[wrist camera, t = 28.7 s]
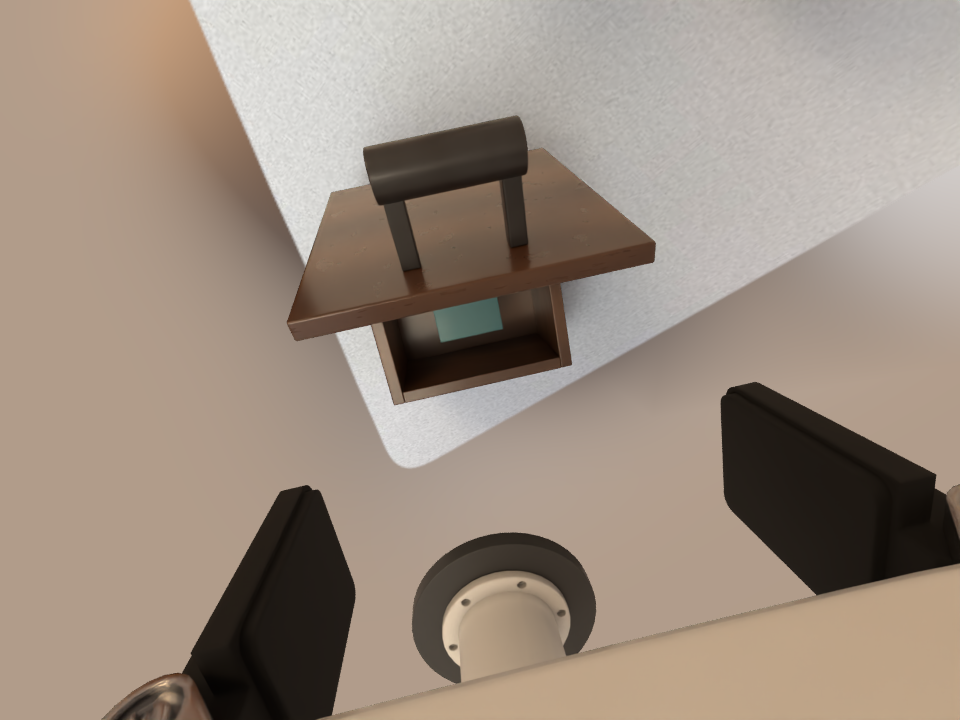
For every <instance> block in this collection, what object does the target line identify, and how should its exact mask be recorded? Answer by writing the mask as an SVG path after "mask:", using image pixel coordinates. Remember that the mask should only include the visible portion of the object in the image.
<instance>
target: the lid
mask: <svg viewBox="0 0 960 720" xmlns="http://www.w3.org/2000/svg"><path fill="white" fill-rule="evenodd" d="M363 155H364V161H365V166H366V170H367V174H368V178H369V182H370V184H369V185H364V186H359V187H354V188H350V189H345V190H340V191H336V192H332V193H331V195H330V197H329V200H328V203H327V206H326V209H325V212H324V215H323V218H322V221H321V224H320V227H319V230H318V233H317V236H316V238H315V241H314V244H313V247H312V250H311V253H310V256H309V259H308V262H307V265H306V268H305V271H304V274H303V277H302V280H301V282H300V285H299V288H298V291H297V294H296V297H295V300H294V303H293V306H292V309H291V312H290V315H289V318H288V320H287V325H288V327H289V329H290V331H291V333H292V335H293V337H294V339H295V340H296V341H300V340H304V339H308V338H314V337H318V336H323V335H327V334H332V333H336V332H341V331H345V330H350V329H354V328H359V327H363V326H368V325H372V324H377V323H382V322H386V321H391V320H395V319H400V318H404V317H409V316H413V315H418V314H422V313H427V312H431V311H436V310H440V309H445V308H449V307H454V306H459V305H463V304H468V303H472V302H477V301H481V300H486V299H490V298H495V297H499V296H504V295H508V294H513V293H517V292H522V291H526V290H531V289H536V288H540V287H545V286H549V285H554V284H558V283H563V282H567V281H572V280H576V279H581V278H585V277H590V276H594V275H599V274H604V273H608V272H613V271H617V270H622V269H626V268H631V267H635V266H640V265H644V264H649V263H653V262H654V260H655V247H656V243H655V241H654V240H653V239H652V238H650V237H649V236H648V235H647V234H646V233H644V232H643V231H642V230H641V229H640V228H638V227H637V226H636V225H635V224H634V223H632V222H631V221H630V220H629V219H628V218H626V217H625V216H624V215H623V214H622V213H620V212H619V211H618V210H617V209H616V208H614V207H613V206H612V205H611V204H610V203H608V202H607V201H606V200H605V199H604V198H602V197H601V196H600V195H599V194H598V193H596V192H595V191H594V190H593V189H592V188H590V187H589V186H588V185H587V184H586V183H584V182H583V181H582V180H581V179H580V178H578V177H577V176H576V175H575V174H574V173H572V172H571V171H570V170H569V169H568V168H566V167H565V166H564V165H563V164H562V163H560V162H559V161H558V160H557V159H556V158H554V157H553V156H552V155H551V154H550V153H548V152H547V151H546V150H545V149H544V148H539V149H534V150H529V151H528V148H527V141H526V135H525V131H524V127H523V124H522V121H521V119H520V117H519V116H517V115H516V116H511V117H506V118H502V119H497V120H492V121H487V122H482V123H478V124H473V125H468V126H463V127H458V128H454V129H449V130H444V131H439V132H435V133H430V134H425V135H420V136H415V137H411V138H406V139H401V140H396V141H391V142H387V143H382V144H377V145H372V146H368V147H364V148H363Z"/></svg>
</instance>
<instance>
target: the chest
mask: <svg viewBox="0 0 960 720" xmlns="http://www.w3.org/2000/svg"><path fill="white" fill-rule="evenodd" d="M497 299H498V304H499V309H500V315H501V320H502V325H503V329H501V330H496V331H492V332H487V333H483V334H478V335H474V336H469V337H465V338H460V339H456V340H451V341H447V342H443V343H441V342H440V338H439V333H438V329H437V325H436V321H435V317H434V313H433V311H431V312H427V313H422V314H418V315H413V316H409V317H404V318H400V319H395V320H391V321H386V322H382V323H377V324H372V325H371V327H372V330H373V334H374V337H375V341H376V344H377V348H378V351H379V355H380V358H381V362H382V365H383V369H384V372H385V376H386V379H387V383H388V386H389V389H390V393H391V396H392V400H393V403H394V405H398V404H402V403H405V402H406V403H407V402H412V401H416V400H421V399H425V398H429V397H434V396H438V395H443V394H447V393H451V392H456V391H460V390H465V389H469V388H474V387H478V386H482V385H487V384H491V383H496V382H500V381H505V380H509V379H513V378H518V377H522V376H527V375H531V374H535V373H540V372H544V371H549V370H553V369H558V368H561V367H566V366H570V365H572V360H571V353H570V346H569V339H568V333H567V326H566V319H565V312H564V305H563V299H562V292H561V285H560V283H558V284H554V285H549V286H545V287H540V288H536V289H531V290H526V291H522V292H517V293H513V294H508V295H504V296H499V297H497Z"/></svg>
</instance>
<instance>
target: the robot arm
mask: <svg viewBox="0 0 960 720" xmlns="http://www.w3.org/2000/svg"><path fill="white" fill-rule="evenodd" d="M721 426H722V452H723V478H724V496H725V500H726V502H727V505H728V506H729V508H730V509H731V510H732V512H733V513H734V514H735V515H736V516H737V517H738V518H739V519H741V521H743V522H744V523H745V524H746V525H747V526H748V527H749V528H750V529H751V530H752V531H753V532H754V533H755V534H756V535H757V536H758V537H759V538H760V539H761V540H762V541H763V542H764V543H765V544H766V545H767V546H768V547H769V548H770V549H771V550H772V551H773V552H774V553H775V554H776V555H777V556H778V557H779V558H780V559H781V560H782V561H783V562H784V563H785V564H786V565H787V566H788V567H789V568H790V569H791V570H792V571H793V572H794V573H795V574H796V575H797V576H798V577H799V578H800V579H801V580H802V581H803V582H804V583H805V584H806V585H807V586H808V587H809V588H810V589H811V590H812V591H813V592H814V593H815V594H816V596H812V597H808V598H804V599H800V600H796V601H791V602H787V603H783V604H779V605H774V606H770V607H766V608H762V609H758V610H753V611H749V612H745V613H741V614H737V615H733V616H729V617H724V618H720V619H716V620H712V621H707V622H704V623H699V624H696V625H691V626H687V627H683V628H679V629H675V630H671V631H667V632H663V633H659V634H654V635H650V636H646V637H642V638H638V639H634V640H630V641H626V642H622V643H618V644H614V645H609V646H605V647H601V648H597V649H593V650H589V651H585V652H581V653H577V654H573V655H569V656H566V654H565V651H564V647H563V645H564V643H565V641H566V639H567V637H568V634H569V630H570V613H569V609H568V606H567V603H566V601H565V598H564V596H563V595H562V593H561V592H560V590H559V589H558V588H557V587H556V586H555V585H554V584H553V583H552V582H550V581H549V580H547V579H545V578H543V577H542V576H539V575H536V574H533V573H530V572H524V571H502V572H495V573H492V574H488V575H485V576H482V577H480V578H478V579H476V580H474V581H472V582H470V583H469V584H468V585H466V586H465V587H463V588H462V589H461V590H460V591H459V592H458V593H457V594H456V595H455V596H454V597H453V598H452V600H451V601H450V603H449V604H448V606H447V608H446V611H445V613H444V616H443V623H442V638H443V642H444V647H445V649H446V651H447V653H448V655H449V656H450V657H451V658H452V660H453V661H454V662H455V663H456V664H458V665H459V666H460V669H461V683H457V684H453V685H449V686H445V687H441V688H437V689H433V690H429V691H426V692H422V693H417V694H413V695H409V696H406V697H402V698H398V699H394V700H390V701H386V702H382V703H378V704H374V705H370V706H367V707H363V708H359V709H355V710H351V711H347V712H344V713H340V714H336V715H332V712H333V707H334V702H335V697H336V692H337V687H338V682H339V677H340V672H341V667H342V662H343V657H344V653H345V648H346V643H347V638H348V632H349V628H350V623H351V618H352V613H353V608H354V603H355V585H354V582H353V579H352V576H351V573H350V571H349V568H348V565H347V562H346V560H345V557H344V554H343V551H342V549H341V546H340V543H339V541H338V538H337V535H336V532H335V530H334V527H333V524H332V522H331V519H330V516H329V514H328V511H327V508H326V505H325V503H324V500H323V497H322V495H321V493H320V491H319V490H312V489H311V488H310V486H308V485H305V486H302V487H297V488H292V489H288V490H284V491H281V492H280V493H279V495H278V496H277V498H276V500H275V502H274V504H273V506H272V507H271V509H270V511H269V513H268V514H267V516H266V518H265V520H264V522H263V524H262V525H261V527H260V529H259V531H258V533H257V534H256V536H255V538H254V540H253V541H252V543H251V545H250V547H249V549H248V550H247V552H246V554H245V556H244V558H243V559H242V561H241V563H240V565H239V567H238V569H237V570H236V572H235V574H234V576H233V578H232V579H231V581H230V583H229V585H228V587H227V588H226V590H225V592H224V594H223V596H222V597H221V599H220V601H219V603H218V605H217V606H216V608H215V610H214V612H213V614H212V616H211V617H210V619H209V621H208V623H207V625H206V626H205V628H204V630H203V632H202V634H201V635H200V637H199V639H198V641H197V642H196V645H195V646H194V648H193V650H192V652H191V655H192V656H191V658H190V660H189V661H188V663H187V665H186V667H185V669H184V671H183V673H182V674H181V673H174V674H169V675H164V676H162V677H159V678H157V679H154V680H151V681H149V682H147V683H146V684H144V685H142V686H141V687H139V688H137V689H136V690H134V691H133V692H131V693H130V694H129V695H128V696H126V697H125V698H124V699H123V700H121V701H120V702H119V703H118V704H116V705H115V706H114V707H113V708H112V709H111V710H110V711H109V712H108V713H107V714H106V715H105V716H104V718H102V720H960V484H959V485H957V486H953V487H952V488H951V489H950V490H949V491H948V492H947V495H946V494H944V493H942V492H940V491H939V490H937V489H935V481H936V474H934V473H932V472H930V471H928V470H926V469H925V468H923V467H921V466H918V465H917V464H915V463H913V462H911V461H909V460H907V459H905V458H903V457H901V456H899V455H897V454H895V453H894V452H892V451H890V450H888V449H886V448H884V447H882V446H880V445H878V444H876V443H874V442H872V441H870V440H868V439H866V438H865V437H863V436H861V435H859V434H857V433H855V432H853V431H851V430H849V429H847V428H845V427H843V426H841V425H839V424H837V423H835V422H833V421H832V420H830V419H828V418H826V417H824V416H822V415H820V414H818V413H816V412H814V411H812V410H810V409H808V408H806V407H805V406H803V405H801V404H799V403H797V402H795V401H793V400H791V399H789V398H787V397H785V396H783V395H781V394H779V393H777V392H775V391H773V390H772V389H770V388H768V387H766V386H764V385H762V384H760V383H757V382H753V383H748V384H744V385H740V386H735V387H731V388H729V389H728V391H727V393H726V395H724V396H723V397H722V398H721Z"/></svg>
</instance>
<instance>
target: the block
mask: <svg viewBox="0 0 960 720" xmlns="http://www.w3.org/2000/svg"><path fill="white" fill-rule="evenodd" d="M433 313H434V317H435V321H436V325H437V329H438V333H439V338H440V342H441V343H443V342H447V341H451V340H456V339H460V338H465V337H469V336H474V335H478V334H483V333H487V332H492V331H496V330H501V329H503V325H502V320H501V315H500V309H499V304H498V299H497V297H495V298H490V299H486V300H481V301H477V302H472V303H468V304H463V305H459V306H454V307H449V308H445V309H440V310H436V311H433Z"/></svg>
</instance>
